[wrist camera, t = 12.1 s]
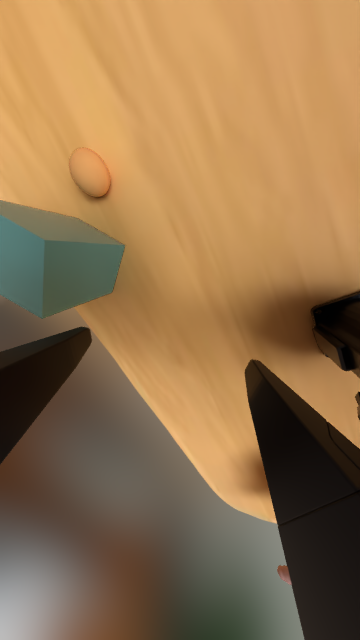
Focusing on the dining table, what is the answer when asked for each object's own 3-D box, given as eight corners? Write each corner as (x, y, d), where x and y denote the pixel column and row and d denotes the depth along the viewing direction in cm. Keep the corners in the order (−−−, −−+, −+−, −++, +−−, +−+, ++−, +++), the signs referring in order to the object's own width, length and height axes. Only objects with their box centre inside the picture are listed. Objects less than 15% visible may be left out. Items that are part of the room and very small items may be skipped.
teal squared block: (125, 245, 18) (44, 240, 10) (112, 292, 21) (42, 318, 13) (77, 218, 18) (-43, 190, 10) (71, 268, 21) (-25, 280, 13)
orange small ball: (103, 150, 15) (74, 125, 12) (123, 187, 16) (100, 172, 13) (83, 175, 16) (52, 158, 13) (101, 208, 17) (77, 198, 14)
